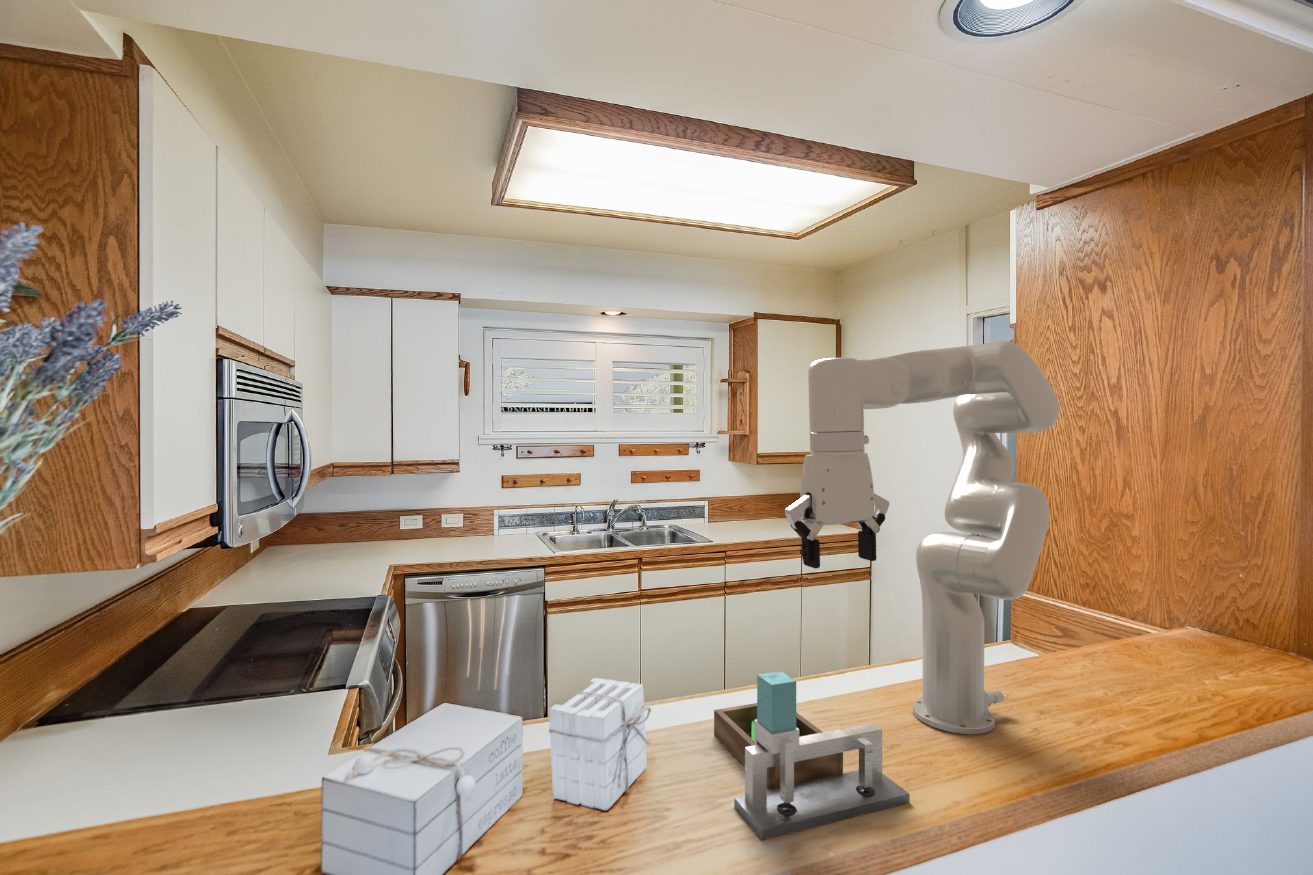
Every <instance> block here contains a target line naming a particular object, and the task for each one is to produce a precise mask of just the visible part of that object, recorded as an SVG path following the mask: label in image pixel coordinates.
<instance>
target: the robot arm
mask: <svg viewBox="0 0 1313 875" xmlns="http://www.w3.org/2000/svg"><path fill="white" fill-rule="evenodd" d="M1041 370H1042V369H1041V368H1040V367H1039V366H1038V364H1037V363H1036V362H1035V360H1034V359H1033V357H1032V356H1031V355H1030V354H1029V353H1028V352H1027V351H1026V350H1025V349H1024V348H1023V347H1022V346H1020V345H1019V344H1018V343H1015V342H1013V341H1008V340H1007V341H1006V340H1004V341H998V342H997V341H996V342H990V343H980V344H973V345H971V344H970V345H964V346H956V347H954V346H953V347H945V348H936V349H934V348H933V349H924V350H915V351H910V352H909V351H908V352H904V353H899V354H895V355H890V356H884V357H875V358H868V359H867V358H866V359H856V358H853V357H828V358H821V359H817V360H813V362H811V364H810V365H809V367H808V372H807V373H808V374H807V376H808V378H807V379H808V382H807V383H808V410H809V411H808V414H809V415H808V416H809V451H810V452H809V454H805V457H804V458H803V459H804V460H803V464H802V470H801V471H802V472H801V477H800V478H801V479H800V489H799V490H800V492H799V493H800V495H799V496H800V498H799V499H798V500H796V501H795V502H793V503H792V504H791V505H789V506H788V507H786V508H785V509H784V514H785V516H786V518H787V520H788V522H789V523H790V528H791V529H793V531H794V532H795V533H796V534H797V536H798V538H801V558H802V562H803V565H804V566H807V567H809V568H812V569H819V568H820V567H821V551H820V550H821V549H820V548H821V547H820V540H819V539H816V538H817V536H818V534H819V533H820V531H821V530H822V529H823V527H824V526H835V525H845V524H854V523H855V524H857V525H858V526H859V528H860V529H861V530H858V532H857V552H858V553H857V554H858V555H857V556H858V558H860V559H863V560H866V561H870V562H876V561H877V534H878V533H879V532H880V531H881V526H882V524H883V523H884V522H885V520H886V515H887V513H888V509H889V507H890V501H889V500H888V499H885V498H883V497H882V496H880V495H879V494H876V493H875V490H874V481H873V474H872V469H871V468H872V467H871V463H870V459H869V454H868V453H867V452H865V445H868V444H869V442H870V438H869V436H868V435H866V434H865V420H864V419H865V418H864V417H865V416H864V413H865V412H864V410H878V409H879V410H881V409H889V408H893V407H896V406H898V405H905V404H906V405H907V404H909V405H910V404H919V403H929V402H935V401H940V400H945V399H951V398H955V400H954V403H953V410H952V414H953V419H954V423H955V426H956V430H957V432H958V436H959V440H960V443H961V446H962V459H961V463H960V466H959V468H958V471H957V474H956V476H955V479H954V481H953V483H952V486H951V488H950V492H949V494H948V497H947V500H946V503H945V505H944V506H945V507H944V518H945V521H946V523H947V524H948V525H949V526H950V527H951V528H953V529H954V530H956V531H959V532H952V531H937V532H932V533H929V534H928V535H926V536H924V537H923V538H922V539H921V540H920V541H919V543H918V545H917V548H916V553H915V561H916V563H915V564H916V569H917V572H918V574H917V575H918V578H919V584H920V589H921V590H920V591H921V602H922V604H921V605H922V697H920V698H917V699H916V700H915V701H914V702H913V704H912V712H913V714H914V717H916V718H917V719H918V720H919V721H921V722H922V723H924V724H926V725H928V726H929V727H933V728H935V729H938V730H941V731H943V732H944V731H945V732H949V733H953V734H961V735H982V734H985V733H988V732H991V731H993V729H994V728H995V727H996V725H995V724H996V720H995V717H994V714H992V713H991V711H989V707H991V706H992V705H995V704H999V703H1003V702H1004V701H1005V696H1004V694H1003V693H1002V691H1000V690H994V691H989V692H987V691H986V690H985V618H984V614H983V610H982V607H981V606H980V604H979V602H978V600H977V598H976V597H975V595H978V596H982V597H983V596H984V597H988V598H992V599H997V600H1004V601H1014V600H1018V599H1019V598H1021V597H1022V596H1023V595H1025V594H1026V592H1027V590H1028V589H1029V586H1030V584H1031V583H1032V582H1031V581H1032V580H1033V579H1032V578H1033V576H1034V572H1035V570H1036V566H1037V564H1038V559H1039V557H1040V554H1041V551H1042V548H1043V544H1044V541H1045V538H1046V536H1047V531H1048V528H1049V523H1050V507H1049V501H1048V498H1047V496H1046V494H1045V493H1044V492H1043V491H1042V489H1041V488H1039V487H1037V486H1035V485H1032V484H1030V483H1025V482H1016V481H1015V482H1014V481H1013V482H1012V478H1013V475H1014V472H1015V468H1016V466H1015V461H1014V459H1013V457H1012V455H1011V453H1010V452H1009V450H1008V448H1006V446H1005V445H1004V444H1003V443H1002V442H1001V440H1000V438H999V437H998V435H997V434H1020V433H1021V434H1023V433H1024V434H1028V433H1029V434H1031V433H1032V434H1033V433H1035V434H1036V433H1041V432H1046V431H1047V430H1048V431H1049V429H1051V428H1052V427H1053V426H1054V425H1055V423H1056V422H1057V420H1058V417H1059V412H1060V411H1059V410H1060V406H1059V400H1058V397H1057V394H1056V392H1055V390H1054V388H1053V387H1052V385H1051V384H1050V382H1049V381H1048V379H1047V378H1046V376H1045V375H1044V373H1043V372H1042V371H1041ZM960 532H961V533H960ZM962 532H963V533H962Z"/></svg>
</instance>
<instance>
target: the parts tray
mask: <svg viewBox="0 0 1313 875" xmlns="http://www.w3.org/2000/svg"><path fill="white" fill-rule="evenodd" d="M755 719H757V702H754V703H749V704H742V705H736V706H730V707H723V708H718V709H713V736H715V738H716V739H717V740H718V741H719V742H720V743H721V744H722V745H723V746H724V747H725V748H726V749H727V750H728V751H729V752H730V753H731V755H733V757H735V758H736V760H738V761H739V762H740V763H741V764H742V765H743V767H745V747H749V746H754V745H755V741H754V740H753V739H752V738H751V736H750V735H748V734H747V733H750V732H751V733H752V721H754V720H755ZM796 727H797V728H798V729H799V737H801V736H806V735H812V734H817V733H822V732H823V731H822V730H821V729H819V728H818V727H817V726H815V724H814V723H812V722H810V721H809V720H807V719H806V718H805V717H804V716H802V715H800V714H799V713H798V712H797V711H796ZM839 774H844V752H841V753H836V754H831V755H826V756H821V757H817V758H812V759H807V760H802V761H797V762H794V784H799V783H803V782H808V781H812V780H817V779H821V778H826V777H830V776H835V775H839ZM776 788H780V765H778V766H773V767H768V768H767V790H772V789H776Z"/></svg>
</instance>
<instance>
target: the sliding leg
mask: <svg viewBox="0 0 1313 875" xmlns="http://www.w3.org/2000/svg"><path fill="white" fill-rule="evenodd" d="M756 680H757V681H756V693H757V694H756V703H757V719H755V720H754V738H755V745H759V744H761V745H762V746H763V747H765V748H766V749H767V750H768V751H769V752H770V753H771V754H775V753H780V798H781V800H782V801H783V802H784V805H785V806H790V802H794V750H795V749H799V729H798V728H797V727H796V712H797V680H796V679H794V678H792V677H790V676H789V675H787V674H786V673H785V672H783V671H782V670H781V671H773V672H767V673H759V674H757V675H756Z"/></svg>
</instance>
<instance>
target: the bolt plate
mask: <svg viewBox="0 0 1313 875" xmlns="http://www.w3.org/2000/svg"><path fill="white" fill-rule="evenodd" d="M910 795H911V794H910V793H909V792H908V791H907V790H905V789H904V788H903V787H902V786H900V785H899V784H897V783H896V782H895V781H893V780H892V779H890V778H889V777H888V776H886V775H885V774H884V773H882V779H881V780H877V781H872V786H871V787H869V789H864V788H863V787H862V785H860V784H859V769H858V770H853V771H849V772H845V773H844V772H843V774H839V775H835V776H830V777H826V778H821V779H817V780H812V781H808V782H803V783H799V784H794V802H790V806H785V805H784V802H783V801H782V800H781V798H780V788H776V789H772V790H767V806H765V807H760V808H756V809H752V808H751V807H750V806H749V805H748V803H747V802H746V801H745V795H741V796H737V797H734V799H733V801H734V802H733V803H734V804H733V806H734V808H735V810H736V811H737V812H738V813H739V814H740V816H741V817H742V818H743V819H744V821H745V822H746V823H747V825H748V826H750V828H751V829H752V830H753V831H754V833H755V834H756V835H757V836H758V837H759V839H760V840H761V841H764V840H769V839H772V838H775V837H781V836H783V835H788V834H791V833H796V832H799V831H803V830H808V829H811V828H816V827H819V826H824V825H827V824H831V823H835V822H840V821H843V820H848V819H852V818H855V817H856V818H857V817H858V816H859V817H860V816H863V815H867V814H871V813H875V812H878V811H883V810H886V809H890V808H894V807H898V806H903V805H906V804H909V803H910V798H911V796H910Z"/></svg>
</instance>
